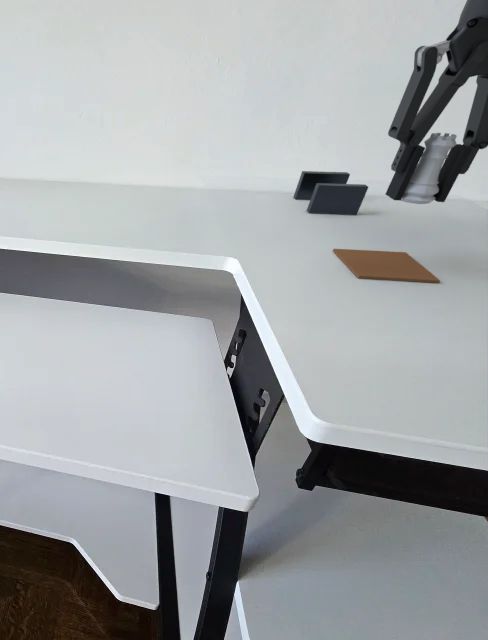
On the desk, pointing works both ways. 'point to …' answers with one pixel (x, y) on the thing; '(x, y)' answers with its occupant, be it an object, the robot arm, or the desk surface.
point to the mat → (384, 265)
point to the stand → (330, 192)
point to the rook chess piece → (429, 169)
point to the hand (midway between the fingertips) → (414, 197)
